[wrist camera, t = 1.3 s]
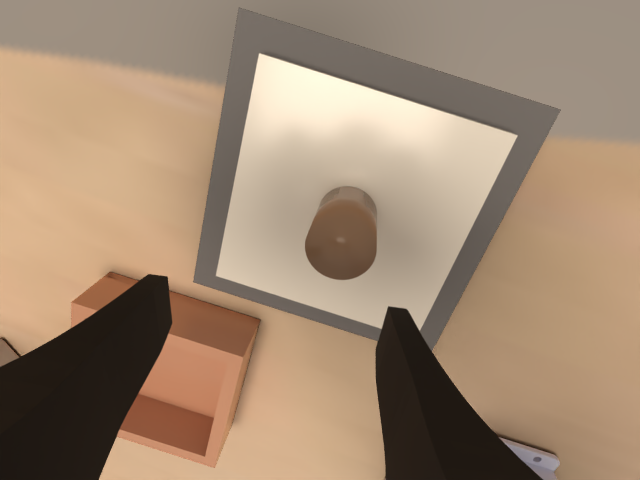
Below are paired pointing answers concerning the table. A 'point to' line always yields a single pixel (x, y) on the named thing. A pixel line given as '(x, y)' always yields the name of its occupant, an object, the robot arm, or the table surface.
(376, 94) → the lid
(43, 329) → the table surface
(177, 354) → the open box
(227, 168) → the mat
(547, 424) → the table surface
